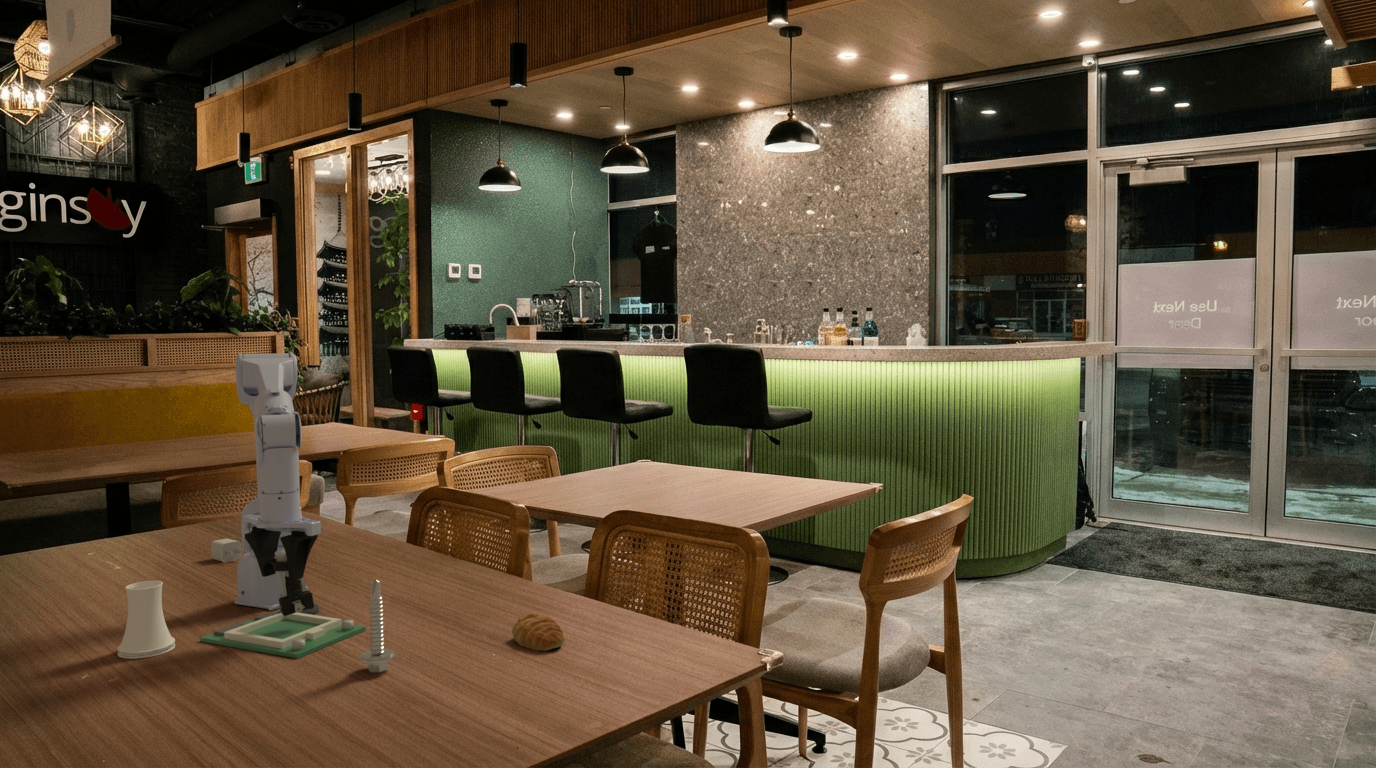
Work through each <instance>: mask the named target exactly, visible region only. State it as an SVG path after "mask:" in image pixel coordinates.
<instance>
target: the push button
mask: <svg viewBox="0 0 1376 768" xmlns="http://www.w3.org/2000/svg"><path fill="white" fill-rule="evenodd" d="M270 564H272V565H273V569H274V571H278V575H279V580H280V586H281V592H282V593H280V596H281V597H279V598H278V602H279V606H276V607H273V608H274V609H273V608H270V609H268V610H269V611H274V610H278V609H279V610H278V611H275V613H272V612H271V613H272V614H270V615H271V616H273V615H276V614H281V613H282V614H283V615H284V616H287V615H290V614H293V613H298V612H301V611H303V610H306V609H312V608H314V603H315V602H314V597H313V593H312V592H311V591H310V590H309V589H308V586H307V585H306V582H305V574H304V575H303V578H300V579H297V580H294V581H292V580H290V578H289V574H288V564H287V557H286V553H285V549H284V548H283V549H280V550H278V551H276V552H275V556H274V557H272V558H271V559H270ZM283 573H285V579H284V574H283ZM285 581H286V583H285Z"/></svg>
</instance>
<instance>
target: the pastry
mask: <svg viewBox="0 0 1376 768" xmlns="http://www.w3.org/2000/svg"><path fill="white" fill-rule="evenodd" d="M511 633H512V637H513V640H514V641H515V643H516V642H517V644H518V645H519V646H521V647H525V648H527V649H531V650H534V651H543V652H547V651H549V650H552V649H556V648H560V647H562V645H563V644H564V642H565V637H564V632H563V630H562V628H561V627H560V625H559V624H558V623H557V622H556V620H554V619H552V618H551V617H549V616H546V615H545V616H544V615H543V616H542V615H541V614H538V613H534V612H533V613H527V614H524V616H522V617H521V618H518V619H517V621H516V622H515V623H514V625H513V627H512V629H511Z"/></svg>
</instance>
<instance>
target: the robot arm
mask: <svg viewBox="0 0 1376 768" xmlns="http://www.w3.org/2000/svg"><path fill="white" fill-rule="evenodd" d="M234 362H235V365H234V366H235V382H236V383H235V384H236V385H235V386H236V391H237V392H236V393H237V397H238V401H239V402H240V403H241V404H245V405H247V406H249V408H250V411H251V413H252V416H253V421H254V424H253V425H254V429H253V430H254V445H255V457H256V458H255V461H256V463H255V464H256V477H257V478H256V481H257V482H256V485H257V487H256V488H257V496H256V497H255V498H254V499H253V500H252V501H250V502H249V503H248V504H247V505H245V506H244V507H243V510H242V512H241V520H240V521H241V549H242V551H243V552H245V553H243V554H242V555H241V558H240V559H239V562H238V564H237V570H236V571H237V594H238V599H237V600H235V601H233V602H234V604H235V605H240V606H248V607H254V608H260V609H267V610H269V609H270V608H273V607H276V606H279V602H278V598H279V597H281V596H280V593H282V592H281V586H280V580H279V575H278V571H274V569H273V565H272V564H270V559H271V558H272V557H274V556H275V552H276V551H278V550H280V549H283V548H284V549H285V553H286V557H287V564H288V574H289V578H290V580H292V581H294V580H297V579H300V578H303V575H304V576H305V574H304V573H305V570H306V566H307V562H308V558H309V556H310V553H311V551H312V548H313V546H314V545H315V542H316V540H317V539H318V535H320V534H322V522H321V521H320V520H313V519H310V518H307V517H303V515H302V506H301V494H300V493H301V491H300V488H301V485H300V483H301V482H300V460H299V459H300V458H299V457H300V455H299V453H300V452H299V450H301V448H302V442H303V427H302V421H301V417H300V415H299V412H298V411H295V409H294V408H295V407H294V403H293V400H294V398H295V395H296V390H297V385H298V360H297V355H296V354H294V352H292V351H291V352H289V353H288V352H287V353H285V352H284V353H242V352H239V353H237V354H236V355H235V361H234ZM296 447H297V448H298V449H297V448H296ZM283 574H284V579H285V573H283ZM285 583H286V581H285ZM273 609H274V608H273ZM274 610H275V609H274Z"/></svg>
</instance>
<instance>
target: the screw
mask: <svg viewBox="0 0 1376 768" xmlns="http://www.w3.org/2000/svg"><path fill="white" fill-rule="evenodd" d="M381 587H382V586H381V581H380V580H379V579H377V578H374V580H372V581H371V582H370V599H369V602H370V603H369V604H368V605H369V606H370V607H369V608H368V609H369V610H370V612H369V614H370V616H369V618H370V620H369V622H370V624H369V626H370V628H369V630H370V633H369V634H370V635H371V636H370V637H369V638H370V640H369V642H370V643H371V644H370V645H369V646H370V647H371V649H367V650H365V651H364V652H362V653H361V654H360V655H359V656H358V657H359V661H360V662H361V663H365V664H366V665H367V670H368V671H369V673H373V674H375V673H376V674H377V673H382V672H385V671H388V667H389V666H388V663H389V661H391V660H393V659H395V658H396V652H395V651H394V650H393V649H391V648H387V647H385V645H384V644H385V641H384V640H385V637H384V634H385V633H384V627H385V626H384V622H385V621H384V620H383V619H384V616H383V615H384V612H383V611H384V608H383V606H384V604H383V602H384V601H383V595H382V594H381V592H382V591H381V590H382V589H381Z"/></svg>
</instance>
